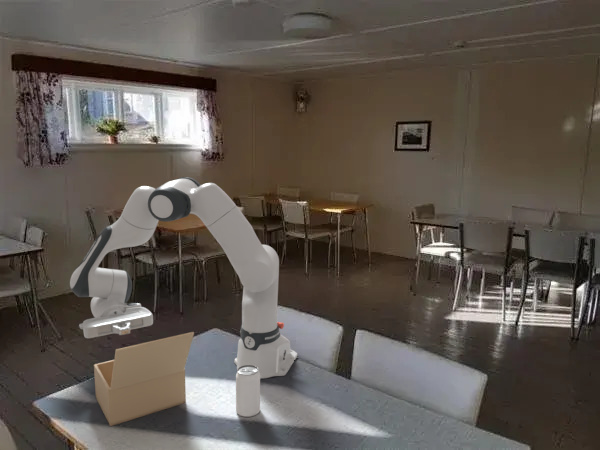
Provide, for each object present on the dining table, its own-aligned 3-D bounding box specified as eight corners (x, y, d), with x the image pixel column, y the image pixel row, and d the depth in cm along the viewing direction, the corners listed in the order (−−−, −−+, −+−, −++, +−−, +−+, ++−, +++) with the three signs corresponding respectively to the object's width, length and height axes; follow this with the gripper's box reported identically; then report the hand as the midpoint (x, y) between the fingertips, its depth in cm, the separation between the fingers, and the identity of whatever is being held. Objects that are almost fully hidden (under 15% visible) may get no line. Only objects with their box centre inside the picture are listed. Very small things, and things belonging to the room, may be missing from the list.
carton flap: (115, 349, 109) (116, 350, 109) (193, 331, 120) (194, 332, 120) (110, 389, 118) (110, 390, 118) (183, 369, 129) (183, 370, 128)
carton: (95, 397, 132) (93, 364, 131) (165, 378, 144) (164, 347, 142) (110, 426, 119) (108, 390, 118) (185, 402, 131) (184, 369, 129)
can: (256, 419, 124) (256, 377, 122) (232, 416, 125) (232, 374, 123) (262, 406, 130) (263, 365, 128) (240, 403, 131) (240, 362, 129)
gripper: (77, 314, 144) (86, 329, 133) (144, 301, 156) (158, 315, 144) (78, 333, 145) (88, 350, 134) (145, 320, 157) (159, 334, 146)
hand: (125, 331), depth 139 cm, fingers closed
